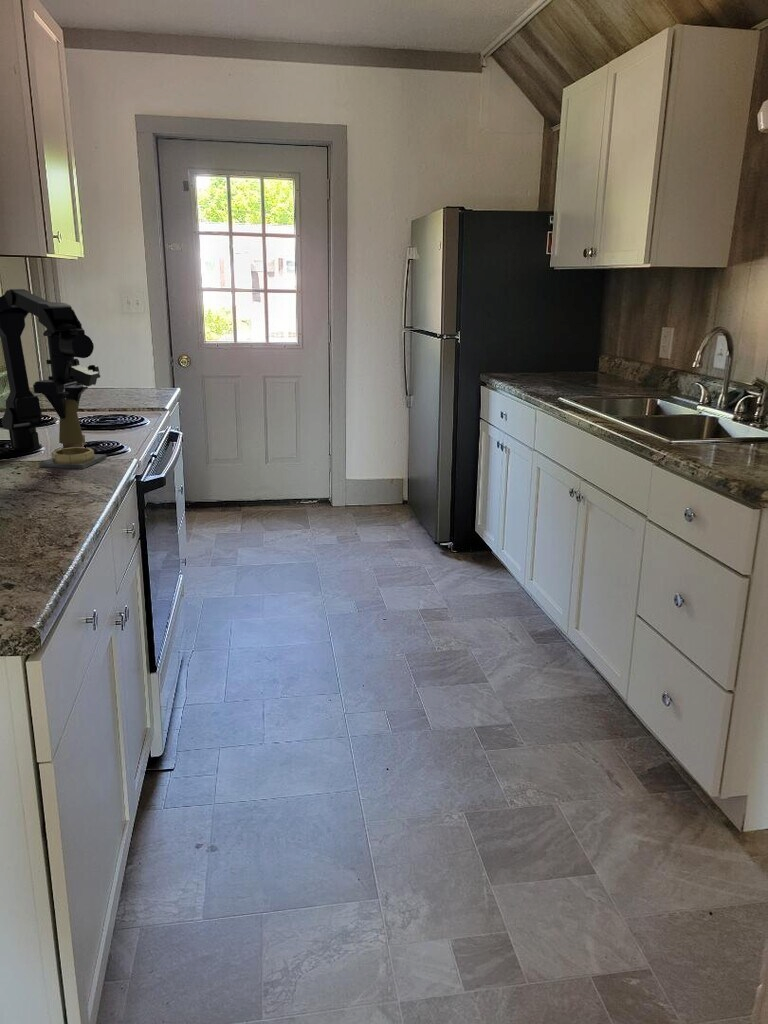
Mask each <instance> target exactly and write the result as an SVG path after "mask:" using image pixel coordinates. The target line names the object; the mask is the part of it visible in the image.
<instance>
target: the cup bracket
mask: <svg viewBox="0 0 768 1024" xmlns="http://www.w3.org/2000/svg"><path fill="white" fill-rule="evenodd" d="M107 455H108V454H103V453H102V454H100V453H99V454H98V453H97V454H96V453H95V451H94V449H92V448H91V447H86V448H85V447H72V448H63V447H62V448H58V449H55V450H53V451H51V458H48V459H45V460H43V461H40V462H39V463H38V464H39V467H40V468H57V469H58V468H59V469H60V468H61V469H75V468H79V469H80V470H84V469H87V468H88V466H89V467H91V466H93V465H95V464H98V463H100V462H102V461H104V460H107V459H108V456H107ZM106 458H107V459H106ZM101 460H102V461H101ZM99 461H100V462H99ZM97 462H98V463H97ZM90 465H91V466H90Z"/></svg>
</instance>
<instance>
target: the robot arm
mask: <svg viewBox="0 0 768 1024" xmlns="http://www.w3.org/2000/svg"><path fill="white" fill-rule="evenodd" d="M29 314H31V315H33V316H36V317H37V321H38V322H39V323H40V324H41V325H42V326H43V327H45V328H46V330H44V332H43V333H42V334H43V336H44V337H47V344H48V345H47V347H48V356H49V359H46V365H50V371H51V373H50V374H51V375H50V376H48V379H42V380H36V381H34V383H33V384H32V388H33V389H32V390H33V392H32V391H31V388H30V383H29V377H28V374H27V373H28V372H27V365H26V361H25V355H24V349H23V348H24V347H23V344H22V339H21V338H22V337H21V336H22V334H23V332H24V330H25V327H26V318H27V316H28V315H29ZM82 326H83V324H82V323H81V322H80V320H79V318H78V317H77V315H76V313H75V311H74V309H73V307H72V305H70V304H69V303H66V302H53V301H49V300H47V299H44V298H42V297H40V296H38V295H35V294H34V293H31V292H29V290H27V289H24V288H23V289H22V288H15V289H14V288H10V289H8V290H6V291H5V292H4V294H3V295H1V296H0V341H1V342H0V343H1V345H2V346H1V347H2V352H3V357H4V363H5V369H6V375H7V380H8V386H9V394H8V396H7V397H6V400H5V412H4V413H3V417H2V419H1V425H2V429H4V430H8V433H9V439H10V448H11V447H12V448H14V449H16V450H25V451H24V452H31V451H34V450H37V449H39V448H41V447H42V445H41V444H40V441H39V433H38V432H37V427H41V424H42V409H41V405H40V398H39V396H37V395H36V396H35V395H34V394H42V395H43V396H45V398H46V399H47V400H48V402H49V403H50V404H51V405H52V408H53V409H54V410H55V412H56V414H57V416H58V417H59V419H60V418H61V419H65V399H73V400H76V401H77V402H78V407H79V405H80V400H81V396H82V394H83V393H84V392H85V391H86V390H88V388H89V387H91V386H93V385H94V386H95V385H96V384H97V381H98V379H99V378H101V374H100V369H99V365H96V364H94V363H93V364H89V366H83V365H80V360H79V359H78V358H80V359H86V358H88V357H90V356H91V355H92V354H93V351H94V348H95V347H94V345H95V344H94V343H93V340H92V338H91V337H89V335H87V334H86V332H85V329H84V328H83V327H82Z"/></svg>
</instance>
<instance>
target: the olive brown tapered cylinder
mask: <svg viewBox="0 0 768 1024" xmlns="http://www.w3.org/2000/svg"><path fill="white" fill-rule="evenodd" d="M78 411H79V406H78V402H77V401H76V400H73V399H66V398H65V419H61V418H60V417H59V436H58V437H59V439H58V441H59V444H62V445H63V444H76V443H81V442H83V441H84V439H83V435H82V434H83V431H82V427H81V423H80V419H79V415H78Z"/></svg>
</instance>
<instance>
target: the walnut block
mask: <svg viewBox="0 0 768 1024" xmlns="http://www.w3.org/2000/svg"><path fill="white" fill-rule="evenodd" d="M82 435H83V439H84V441H83V442H81V443H76V444H62V449H63V448H71V447H83V446H84V445H85V444H86V436H85V434H83V433H82ZM86 445H87V444H86Z"/></svg>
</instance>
